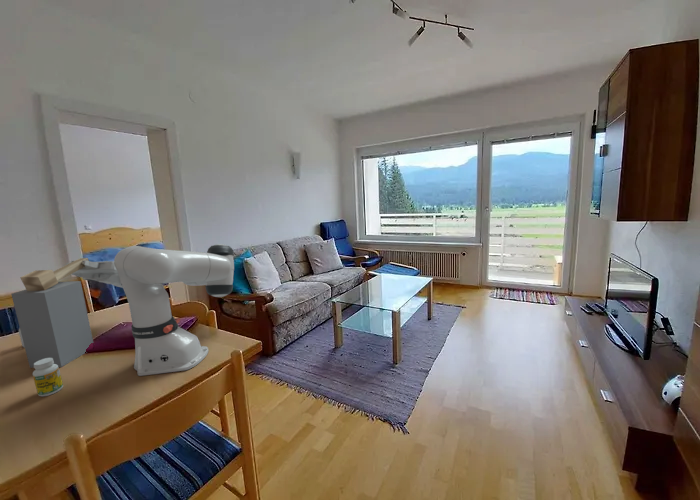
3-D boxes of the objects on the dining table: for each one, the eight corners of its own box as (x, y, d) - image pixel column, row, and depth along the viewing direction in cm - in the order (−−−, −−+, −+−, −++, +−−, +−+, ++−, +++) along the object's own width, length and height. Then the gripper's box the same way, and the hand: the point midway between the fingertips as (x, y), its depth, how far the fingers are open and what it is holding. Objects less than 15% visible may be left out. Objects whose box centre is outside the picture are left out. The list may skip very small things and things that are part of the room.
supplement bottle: (65, 383, 93) (58, 354, 91) (61, 392, 89) (54, 362, 87) (40, 390, 90) (33, 360, 89) (35, 399, 86) (27, 368, 84)
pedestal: (94, 347, 115) (80, 281, 111) (61, 366, 103) (44, 292, 98) (66, 348, 116) (51, 282, 111) (29, 367, 103) (11, 293, 98)
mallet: (93, 263, 119) (89, 251, 117) (44, 290, 100) (38, 276, 99) (78, 264, 120) (73, 252, 118) (27, 290, 101) (20, 277, 99)
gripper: (129, 278, 127) (102, 269, 114) (81, 280, 128) (49, 271, 115) (132, 264, 130) (106, 253, 117) (85, 265, 130) (54, 255, 117)
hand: (77, 262), depth 116 cm, fingers closed on mallet, 3 cm apart
